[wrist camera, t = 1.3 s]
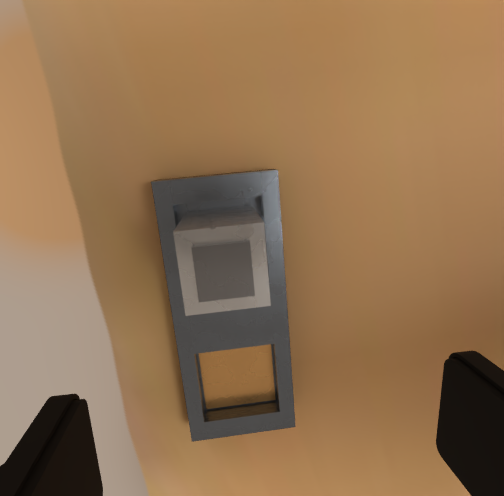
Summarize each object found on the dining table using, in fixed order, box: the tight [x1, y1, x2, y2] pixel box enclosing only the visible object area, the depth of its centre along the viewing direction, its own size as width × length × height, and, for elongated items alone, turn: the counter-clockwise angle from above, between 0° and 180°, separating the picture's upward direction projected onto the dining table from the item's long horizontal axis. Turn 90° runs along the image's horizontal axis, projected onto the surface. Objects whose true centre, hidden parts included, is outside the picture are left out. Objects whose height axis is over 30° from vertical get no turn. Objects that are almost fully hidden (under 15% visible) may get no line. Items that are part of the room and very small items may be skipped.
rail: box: [151, 169, 295, 441], centre depth 29 cm, size 9×22×2 cm, turn 5°
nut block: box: [173, 205, 271, 316], centre depth 24 cm, size 5×5×8 cm
